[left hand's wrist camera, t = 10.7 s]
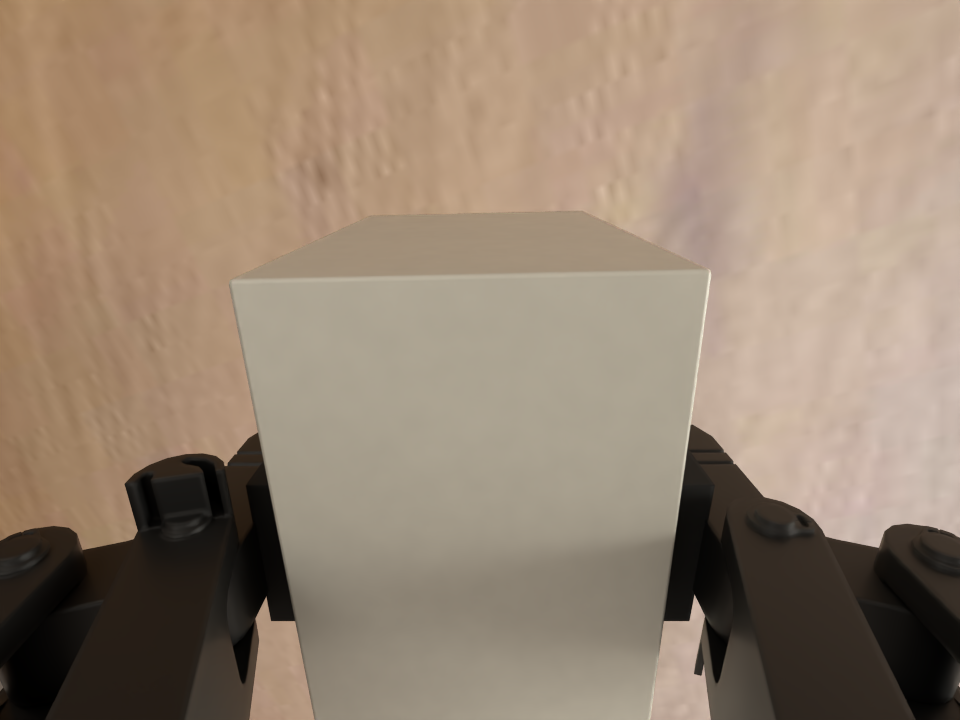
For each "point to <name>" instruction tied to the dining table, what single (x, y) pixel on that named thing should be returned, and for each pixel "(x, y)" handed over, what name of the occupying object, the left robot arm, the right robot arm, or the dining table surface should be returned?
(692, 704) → the dining table surface
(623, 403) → the bar
